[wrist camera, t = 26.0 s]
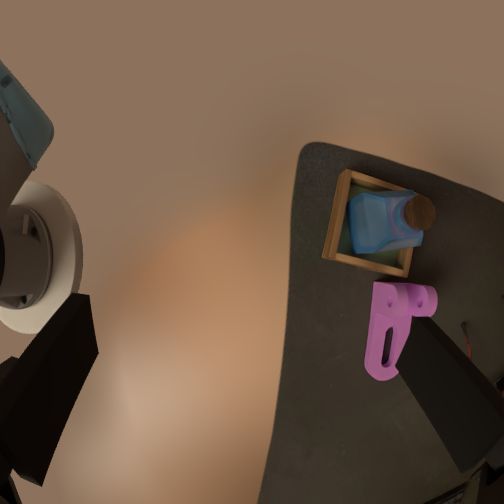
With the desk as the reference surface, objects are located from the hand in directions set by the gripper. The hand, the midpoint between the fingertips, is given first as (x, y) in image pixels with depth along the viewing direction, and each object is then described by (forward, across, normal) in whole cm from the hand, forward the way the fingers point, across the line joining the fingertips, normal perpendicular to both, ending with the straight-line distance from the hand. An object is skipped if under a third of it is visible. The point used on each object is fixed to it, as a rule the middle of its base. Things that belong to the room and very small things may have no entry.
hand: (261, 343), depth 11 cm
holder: (+25, +17, 0) cm, 30 cm away
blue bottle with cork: (+24, +16, 0) cm, 29 cm away
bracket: (+20, +21, -13) cm, 31 cm away
